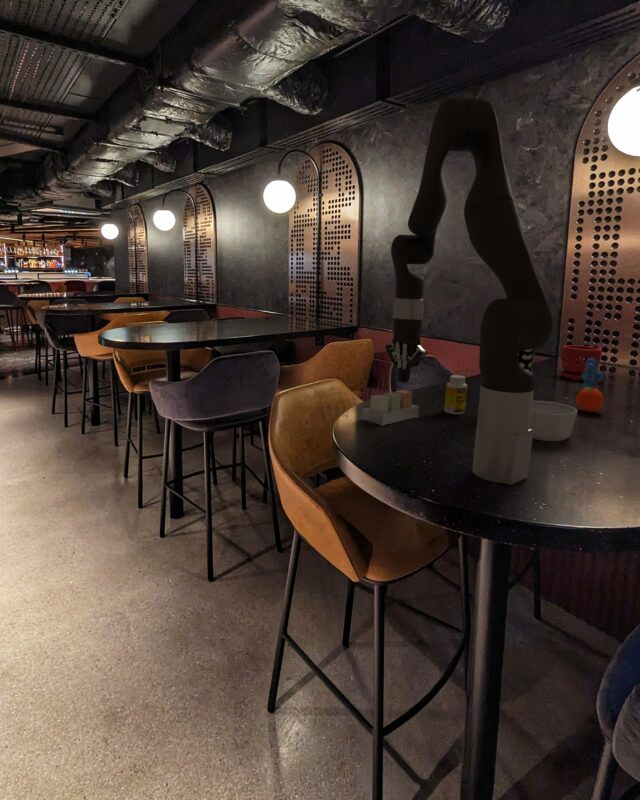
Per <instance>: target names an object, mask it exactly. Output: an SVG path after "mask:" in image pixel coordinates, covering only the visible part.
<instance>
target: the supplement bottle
mask: <svg viewBox="0 0 640 800" xmlns="http://www.w3.org/2000/svg"><path fill="white" fill-rule="evenodd" d="M465 381H466V377H465V376H464V375H461V374H460V375H459V374H452V375H450V376H449V382H447V383H446V386H445V387H446V388H445V398H444V409H443V410H444V412H445V413H447V414H450V415H463V414H464V413H465V412H466V411H465V410H466V403H467V392H468V384H467V383H466V382H465Z"/></svg>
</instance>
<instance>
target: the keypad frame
mask: <svg viewBox="0 0 640 800" xmlns="http://www.w3.org/2000/svg"><path fill="white" fill-rule="evenodd" d="M419 411H420V405H417V404H412V403H411V406H408V407H400V408H399V409H395V410H389V409H388V411H386V412H382V413H377V412H374V411H371V410H370V406H369V407H365V408H362V416H361V417H362V419H361V420H362V421H364V420H365V422H367V421H368V422H367V423H370V422H371V423H370V424H373V423H375V424H374V425H376V424H378V425H377V426H380V425H381V426H380V427H385V426H388V425H387V424H389V425H393V424H396V422H397V423H400V421H401V422H403V421H404V420H405V421H407V419H409V420H412V419H415V417H416V418H419ZM411 418H412V419H411ZM392 423H393V424H392ZM384 425H385V426H384Z"/></svg>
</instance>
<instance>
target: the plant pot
mask: <svg viewBox="0 0 640 800" xmlns="http://www.w3.org/2000/svg"><path fill="white" fill-rule="evenodd" d="M602 352H603V349H602V348H600V347H594V346H586V345H585V346H584V345H575V344H574V345H571V344H569V345H563V346H562V350H561V358H560V360H561V367H562V370H561V371H560V374H561V376H562V377H564V378H566V379H570V380H572V381H574V380H575V381H584V379H583V377H582V376H581V374H582V373H584V372H585V369H586V368H585V366H586V361H587V360H588V359H590V358H594V359H595V360H596V362H597V365H596V369H597V370H598V366H599V364H600V361H601V357H602ZM583 360H584V361H583Z"/></svg>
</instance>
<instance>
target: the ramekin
mask: <svg viewBox="0 0 640 800" xmlns="http://www.w3.org/2000/svg"><path fill="white" fill-rule="evenodd" d="M577 416H578V410H577V408H575V407H573V406H571V405H567V404H564V403H561V402H560V403H559V402H555V401H545V400H533V401H532V409H531V416H530V424H529V429H532V430H533V439H532V440H538V441H544V442H561V441H565V440H567V439H568V438H569V437H570V436H571V435H572V431H573V427H574V424H575V422H576V421H575V420H576V418H577Z"/></svg>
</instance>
